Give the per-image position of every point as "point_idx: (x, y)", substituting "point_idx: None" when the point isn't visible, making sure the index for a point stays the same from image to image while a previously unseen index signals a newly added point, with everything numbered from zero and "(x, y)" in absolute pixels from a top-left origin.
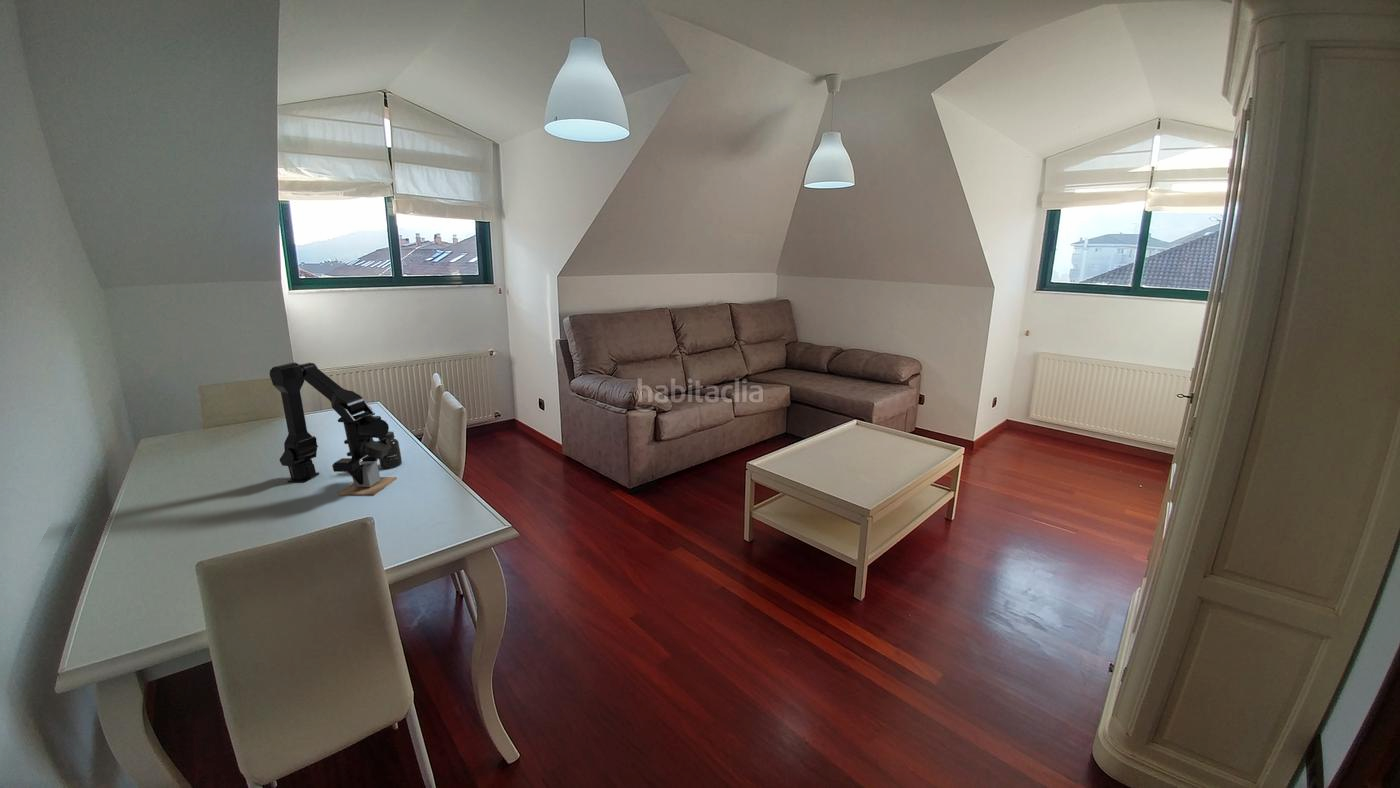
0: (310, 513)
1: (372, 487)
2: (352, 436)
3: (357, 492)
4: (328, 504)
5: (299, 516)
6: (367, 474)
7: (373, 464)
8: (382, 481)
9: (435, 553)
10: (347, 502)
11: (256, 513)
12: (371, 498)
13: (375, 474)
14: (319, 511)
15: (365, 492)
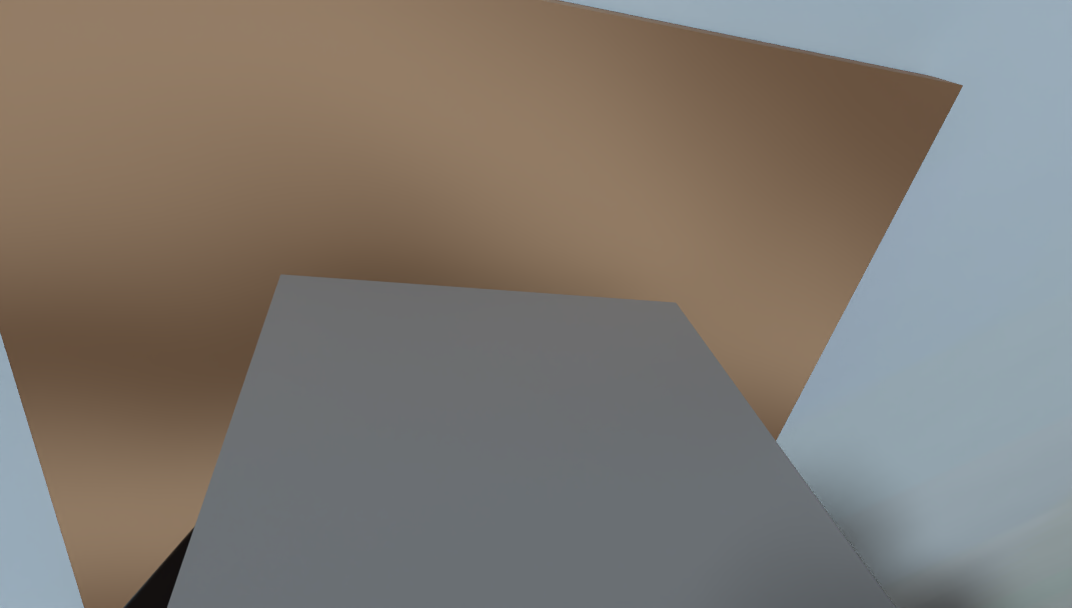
0: (1040, 557)
1: (614, 271)
2: None
3: (760, 409)
4: (908, 533)
5: (1046, 594)
6: (872, 582)
7: None
8: (287, 211)
9: None
10: (975, 376)
11: None
12: (1049, 63)
13: (444, 438)
14: (1046, 516)
15: (816, 285)
